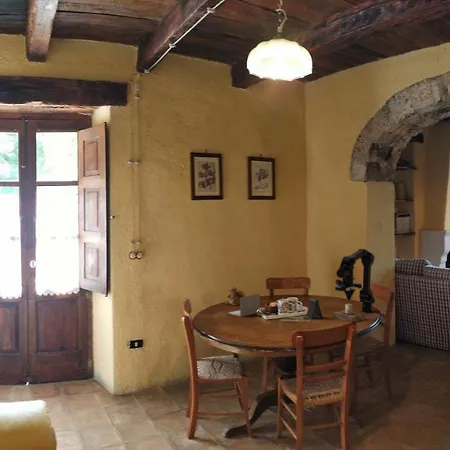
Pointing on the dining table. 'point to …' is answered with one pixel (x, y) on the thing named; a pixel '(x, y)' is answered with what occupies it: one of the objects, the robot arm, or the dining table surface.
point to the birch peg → (348, 309)
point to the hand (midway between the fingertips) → (348, 300)
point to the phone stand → (314, 309)
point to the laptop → (248, 305)
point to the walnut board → (349, 316)
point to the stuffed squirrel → (234, 296)
